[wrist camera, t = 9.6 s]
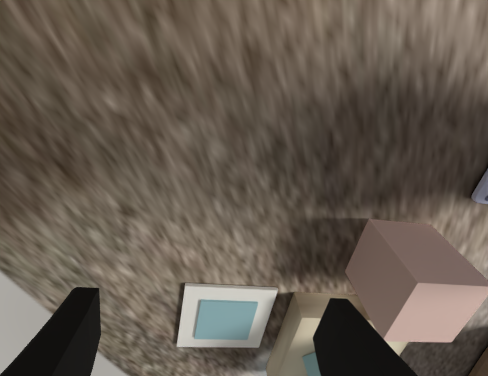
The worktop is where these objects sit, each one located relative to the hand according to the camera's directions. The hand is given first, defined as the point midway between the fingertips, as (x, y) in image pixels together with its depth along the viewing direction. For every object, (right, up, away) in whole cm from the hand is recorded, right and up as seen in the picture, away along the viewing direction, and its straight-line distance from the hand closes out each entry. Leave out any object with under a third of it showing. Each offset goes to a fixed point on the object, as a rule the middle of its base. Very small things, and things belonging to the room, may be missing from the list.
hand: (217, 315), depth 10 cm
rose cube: (+11, 0, +14) cm, 18 cm away
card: (-1, -6, +16) cm, 17 cm away
